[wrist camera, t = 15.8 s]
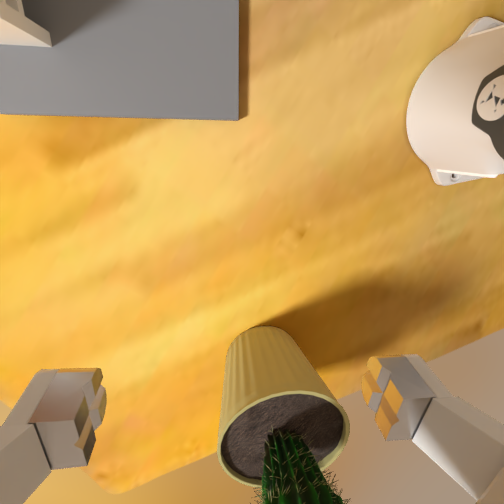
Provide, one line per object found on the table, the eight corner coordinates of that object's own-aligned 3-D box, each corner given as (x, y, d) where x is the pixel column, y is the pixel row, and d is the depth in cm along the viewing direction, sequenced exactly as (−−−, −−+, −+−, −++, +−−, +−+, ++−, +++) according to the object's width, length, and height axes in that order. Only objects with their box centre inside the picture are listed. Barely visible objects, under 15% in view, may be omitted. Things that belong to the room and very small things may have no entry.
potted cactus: (325, 357, 50) (476, 634, 23) (250, 407, 52) (304, 722, 24) (275, 294, 44) (395, 563, 17) (192, 352, 46) (175, 686, 18)
